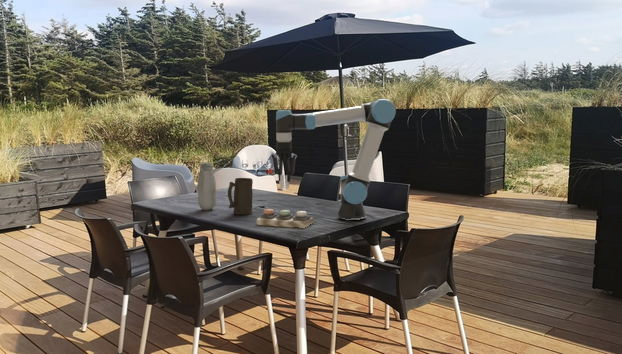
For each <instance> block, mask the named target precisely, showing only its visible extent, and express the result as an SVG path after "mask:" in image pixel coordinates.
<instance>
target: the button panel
mask: <svg viewBox="0 0 622 354" xmlns="http://www.w3.org/2000/svg"><path fill="white" fill-rule="evenodd" d="M312 223H313V224H314V217H311V215H307V216H305V217H298V216H297V214H296V215H295V214H291V213H290V215H288V216H281V215H280V214H278V213H277V212H276V213H275V212H274V214H272V215H265V214H264V213H262V214H260V215H259V217H258V218H256V226H267V227H268V226H269V227H281V228H293V227H299V228H298V229H306V228H308V227H309V225H310V224H311V225H313V224H312ZM311 225H310V226H311ZM307 226H308V227H307ZM305 227H306V228H305Z"/></svg>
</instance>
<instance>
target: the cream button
mask: <svg viewBox="0 0 622 354" xmlns="http://www.w3.org/2000/svg"><path fill="white" fill-rule="evenodd" d="M296 215H297V216H298V217H305V216H307V211H305V210H298V211H296Z"/></svg>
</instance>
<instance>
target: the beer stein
mask: <svg viewBox="0 0 622 354" xmlns="http://www.w3.org/2000/svg"><path fill="white" fill-rule="evenodd" d="M253 183H254V180H253V178H250V177H237V178H236V177H235V179H234V181H230V182H229V185H228V189H227V197H228V198H227V199H228V201H229V205H228V209H233V214H236V215H252V214H253V195H254V194H253ZM233 188H234V190H233ZM232 190H233V193H232ZM232 194H233V196H232Z"/></svg>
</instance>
